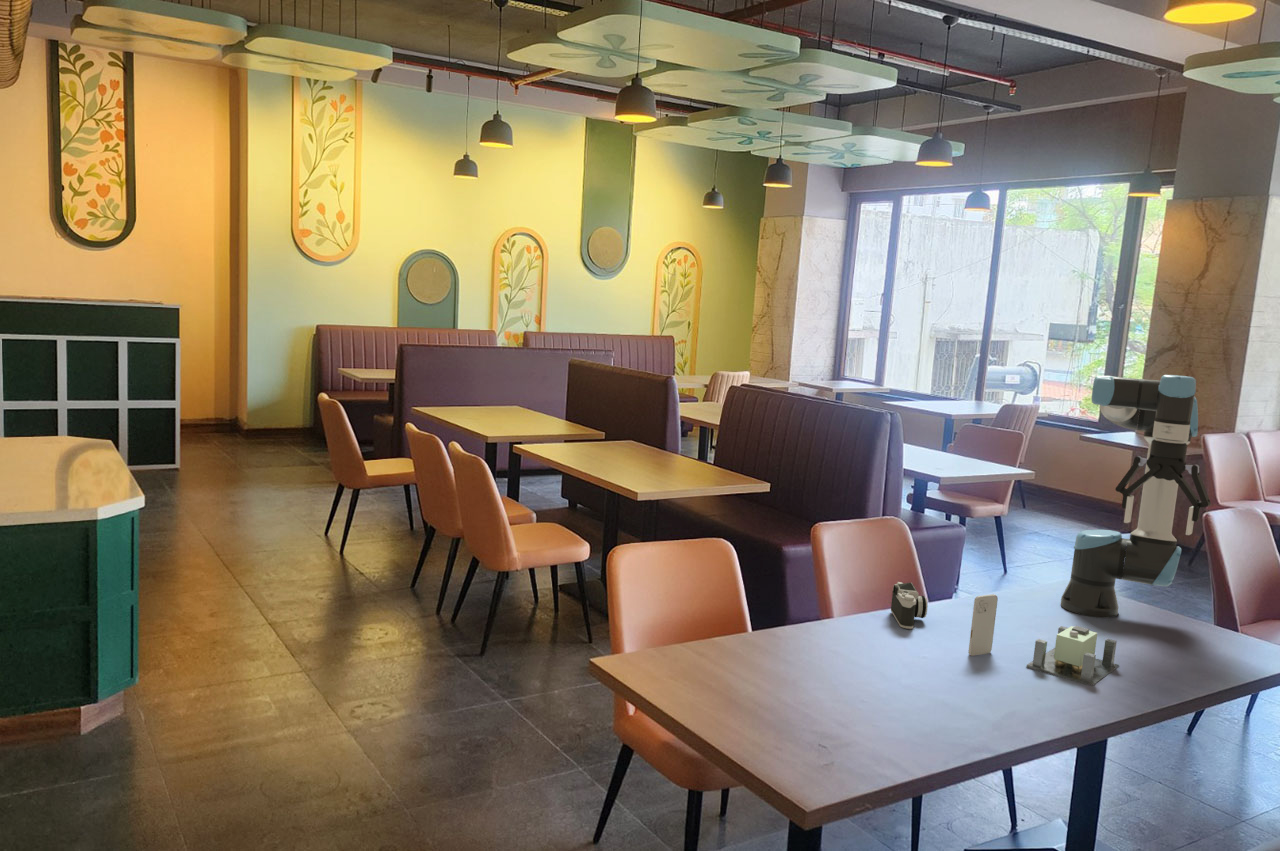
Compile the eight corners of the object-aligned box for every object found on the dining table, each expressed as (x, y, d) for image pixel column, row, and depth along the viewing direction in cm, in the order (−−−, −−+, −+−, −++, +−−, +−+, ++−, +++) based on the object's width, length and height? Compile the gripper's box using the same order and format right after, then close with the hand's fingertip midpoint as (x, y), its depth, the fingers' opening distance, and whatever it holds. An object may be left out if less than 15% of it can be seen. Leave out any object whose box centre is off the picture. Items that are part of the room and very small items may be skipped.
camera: (931, 631, 256) (935, 594, 255) (898, 628, 257) (902, 591, 255) (918, 611, 272) (922, 576, 270) (887, 609, 272) (890, 574, 271)
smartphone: (989, 652, 243) (996, 593, 241) (992, 653, 242) (999, 595, 240) (967, 655, 239) (974, 596, 237) (971, 657, 238) (978, 597, 236)
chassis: (1055, 651, 246) (1058, 624, 245) (1118, 669, 236) (1122, 641, 235) (1026, 669, 232) (1029, 640, 231) (1091, 689, 222) (1096, 659, 221)
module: (1068, 649, 239) (1072, 622, 238) (1094, 656, 235) (1098, 628, 234) (1053, 658, 232) (1057, 630, 231) (1079, 666, 228) (1083, 637, 227)
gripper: (1109, 433, 237) (1097, 519, 240) (1225, 450, 221) (1211, 541, 224) (1118, 432, 243) (1107, 515, 246) (1233, 447, 226) (1219, 537, 229)
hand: (1157, 528), depth 235 cm, fingers open, 13 cm apart
